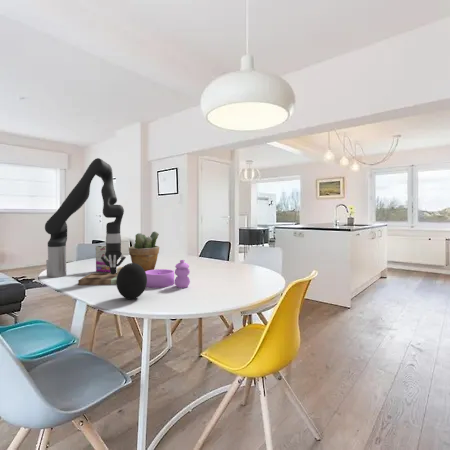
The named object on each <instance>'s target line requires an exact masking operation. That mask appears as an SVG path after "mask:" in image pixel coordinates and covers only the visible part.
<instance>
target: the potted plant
mask: <svg viewBox="0 0 450 450" xmlns="http://www.w3.org/2000/svg"><path fill="white" fill-rule="evenodd" d="M158 237H159V232H157V231H152V232H151V235H150V236H146V234H142V233H140V232H138V233H137V234H135V240H134V244H133V246H129V247H128V254H129V255H130V261H131V263H136V264H138V265H140V266H141V267H142V268H143V269H144V270H145V271H148V270H155V268H156V265H157V261H158V256H159V253H160V246H159V245H156V243H157V239H158Z"/></svg>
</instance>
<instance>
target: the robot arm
mask: <svg viewBox="0 0 450 450" xmlns="http://www.w3.org/2000/svg"><path fill="white" fill-rule="evenodd" d="M112 168H113V167H111V165H110V164H109V163H107V161H104V160H103V159H102V158H100V157H99V158H98V157H97V158H95V159H93V161H91V162H90V163H89V165H88V167H87V169H85V172H84V174H83V175H82V177H81V178H80V180H79V181H78V182H77V184H76V185H75V186H74V187H73V189H72V190H71V191H70V192H69V194H68V195H67V197H66V198H65V199H64V201H63V202H62V204H61V205H60V206H59V208H58V209H57V210H56V211H55V212H54V214H52V215H51V216H50V217H49V219H48V220H47V221H46V222H45V224H44V230H45V232H46V233H47V234H48V235H50V237H49V240H48V241H47V259H46V261H45V262H46V277H47V278H48V277H49V278H60V277H64V276H67V241H68V225H67V221H68V219H69V218H70V217H71V216H72V215H74V214H75V213H76V212H77V211H79V210H80V208H82V207H83V205H84V204H85V203H86V202H87V200H88V199H89V196H90V194H91V193H90V192H91V183H92V181H93V179H94V178H95V176H97V177H99V178H101V180H102V182H103V185H102V186H101V191H100V193H101V197H102V202H103V205H102V206H103V207H102V215H103V216H104V217H105V218H108V219H109V218H111V219H112V218H115V219H114V221H110V222H107V223H106V225H105V226H106V228H105V229H106V230H105V231H106V232H105V233H106V234H105V235H106V236H105V245H106V253H105V255H104V256H103V257H101V259H102V260H103V262H104V263H105V264H106V265H107V266H109V267H110V273H111V274H115V273H117V268H118V267H120V265H121V264H122V263H123V262H124V261H125V259H126V256H124V255H123V254H122V235H121V224H122V220H123V218H124V213H125V210H124V206H123V205H121V204H116V203H117V202H118V198H117V194H116V190H115V187H114V178H113V177H114V176H113V169H112ZM106 257H107V258H108V260H109V262H108V261H107V258H106Z"/></svg>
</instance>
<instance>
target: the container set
mask: <svg viewBox="0 0 450 450" xmlns="http://www.w3.org/2000/svg"><path fill="white" fill-rule="evenodd" d="M174 267H175V269H174V270H173V269H164V268H161V269H154V270H148V271H145V272H146V276H147V285H146V288H152V289H153V288H154V289H155V288H156V289H158V288H168V287H171V286H173V285H175V286H176V287H177V288H179V289H181V288H182V289H183V288H188V286H189V285H190V284H191V279H190V277H189V276H188V275H190V272H191V270H190V269H189V267H190V264H189V263H187V262H185V260H184V259H179V262H178V263H176V264H175V266H174ZM175 276H176V277H175Z"/></svg>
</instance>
